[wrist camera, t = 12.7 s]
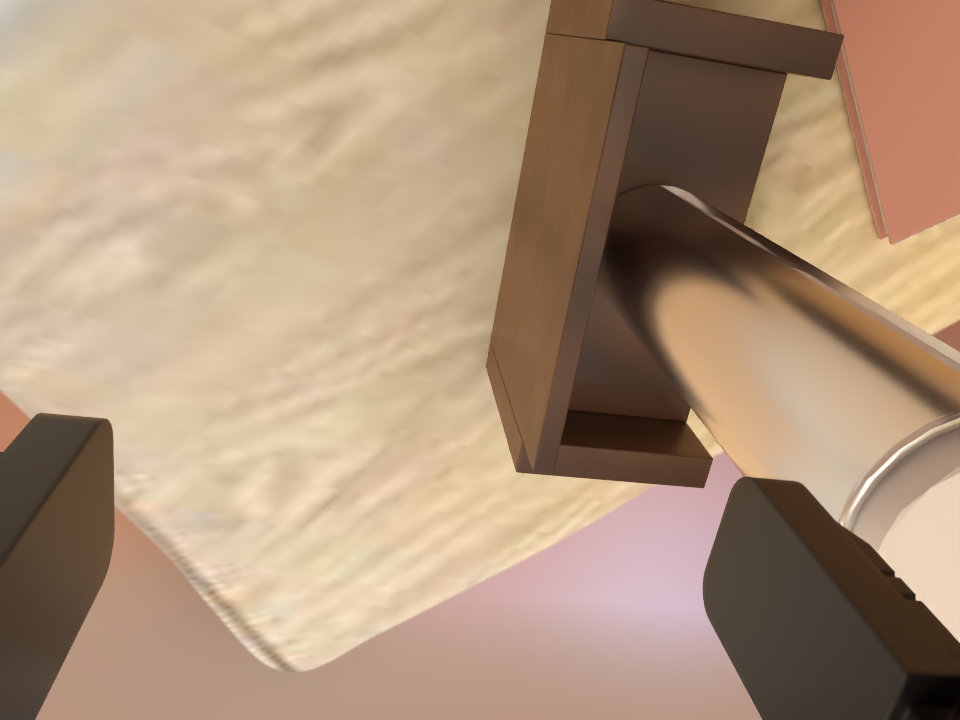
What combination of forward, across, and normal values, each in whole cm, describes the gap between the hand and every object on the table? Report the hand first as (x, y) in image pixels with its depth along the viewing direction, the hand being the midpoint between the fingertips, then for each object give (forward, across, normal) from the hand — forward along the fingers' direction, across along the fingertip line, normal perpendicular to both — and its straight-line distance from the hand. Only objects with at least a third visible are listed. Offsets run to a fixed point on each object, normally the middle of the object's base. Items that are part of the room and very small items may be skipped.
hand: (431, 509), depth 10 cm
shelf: (+38, -12, +3) cm, 40 cm away
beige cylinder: (+29, -13, +3) cm, 32 cm away
